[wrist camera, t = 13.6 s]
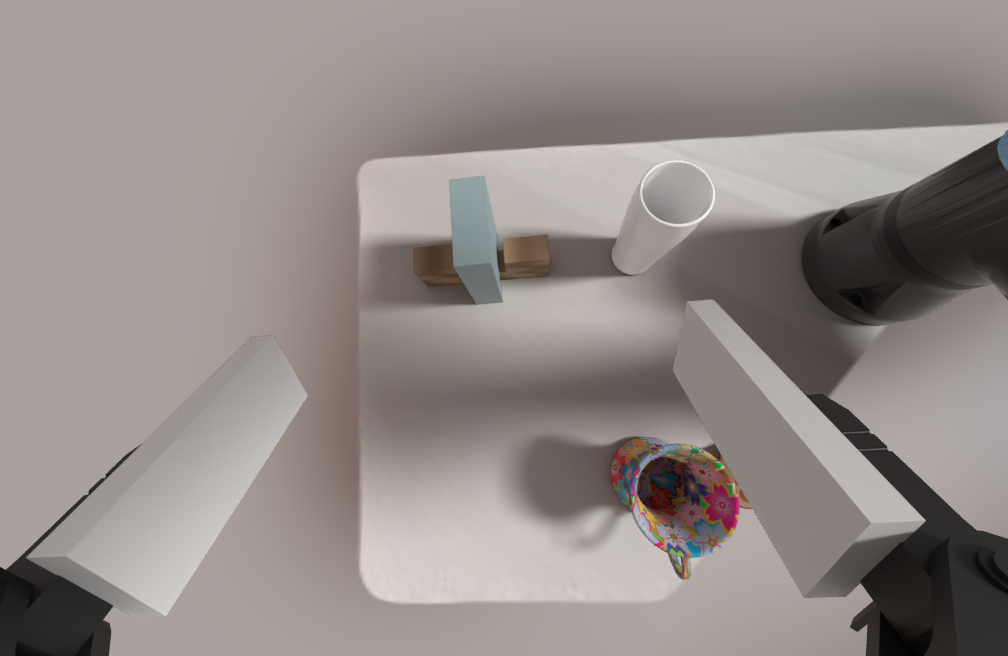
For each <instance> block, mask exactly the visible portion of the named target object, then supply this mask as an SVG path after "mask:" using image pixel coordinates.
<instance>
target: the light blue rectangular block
mask: <svg viewBox="0 0 1008 656" xmlns="http://www.w3.org/2000/svg"><path fill="white" fill-rule="evenodd" d="M449 189H450V208H451V227H452V246H453V264H454V268H455V270H456V271H457V273H458V275H459V276H460V278H461V280H462V281H463V283H464V285H465V286H466V288H467V290H468V291H469V293H470V295H471V296H472V298H473V300H474V301H475V303H476V305H478V304H488V303H499V302H503V296H502V286H501V283H500V276H499V263H498V251H499V246H498V236H497V232H496V227H495V223H494V218H493V213H492V209H491V204H490V199H489V195H488V190H487V185H486V181H485V176H477V177H469V178H460V179H452V180H449Z"/></svg>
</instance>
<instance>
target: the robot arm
mask: <svg viewBox="0 0 1008 656" xmlns="http://www.w3.org/2000/svg"><path fill="white" fill-rule="evenodd" d="M802 259H803V268H804V272H805V276H806V278H807V281H808V283H809V285H810V286H811V288H812V290H813V291H814V293H815V294H816V295H817V296H818V298H819V299H820V300H821V301H822V302H823V303H824V304H825V305H827V306H828V307H829V308H830V309H832V310H833V311H835V312H836V313H838V314H840V315H841V316H843V317H845V318H848V319H850V320H853V321H856V322H859V323H864V324H870V325H889V324H895V323H900V322H905V321H909V320H914V319H917V318H920V317H923V316H925V315H927V314H930V313H931V312H933V311H935V310H937V309H938V308H940V307H942V306H944V305H945V304H947V303H949V302H950V301H952V300H954V299H956V298H957V297H959V296H961V295H963V294H964V293H966V292H968V291H969V290H971V289H974V288H978V287H982V286H986V285H990V284H994V285H995V286H996V287H997V288H998V290H999V291H1000V292H1001V293H1002V294H1003V295H1004V296H1005V298H1006V299H1007V300H1008V130H1007V131H1006V132H1005V134H1004V135H1003V136H1001V137H999V138H998V139H996V140H994V141H992V142H990V143H988V144H987V145H985V146H983V147H981V148H979V149H977V150H976V151H974V152H972V153H970V154H968V155H966V156H965V157H963V158H961V159H959V160H957V161H955V162H954V163H952V164H950V165H948V166H946V167H944V168H943V169H941V170H939V171H937V172H935V173H933V174H932V175H930V176H928V177H926V178H924V179H922V180H921V181H919V182H917V183H915V184H914V185H912V186H910V187H908V188H906V189H904V190H902V191H898V192H894V193H890V194H886V195H882V196H878V197H874V198H870V199H866V200H862V201H858V202H855V203H852V204H849V205H847V206H844V207H842V208H840V209H839V210H837V211H835V212H834V213H832V214H830V215H829V216H827V217H825V218H824V219H822V220H821V221H820V222H819V223H818V224H816V226H815V227H814V228H813V229H812V230H811V232H810V233H809V235H808V237H807V239H806V241H805V244H804V248H803V257H802ZM672 371H673V372H674V374H675V376H676V378H677V379H678V381H679V383H680V384H681V386H682V388H683V390H684V391H685V393H686V395H687V397H688V398H689V400H690V402H691V403H692V405H693V407H694V409H695V410H696V412H697V414H698V416H699V417H700V419H701V421H702V423H703V424H704V426H705V428H706V429H707V431H708V433H709V435H710V436H711V438H712V440H713V442H714V443H715V445H716V447H717V448H718V450H719V452H720V454H721V455H722V457H723V459H724V461H725V462H726V464H727V466H728V468H729V469H730V471H731V473H732V474H733V476H734V478H735V480H736V481H737V483H738V485H739V487H740V488H741V490H742V492H743V493H744V495H745V497H746V499H747V500H748V502H749V504H750V506H751V507H752V509H753V511H754V513H755V514H756V516H757V518H758V519H759V521H760V523H761V524H762V526H763V528H764V530H765V532H766V533H767V535H768V537H769V538H770V540H771V542H772V544H773V545H774V547H775V549H776V550H777V552H778V554H779V555H780V558H781V559H782V561H783V563H784V564H785V566H786V568H787V569H788V571H789V573H790V575H791V577H792V578H793V580H794V582H795V583H796V585H797V587H798V589H799V590H800V592H801V594H802V596H803V597H804V598H815V597H816V598H819V597H846V596H847V595H848V594H849V593H850V592H851V591H853V590H854V589H855V588H856V587H857V586H858V585H859V584H860V583H861V584H862V585H863V587H864V588H865V589H866V591H867V592H868V594H869V595H870V597H871V598H872V599H873V602H872V603H870V604H869V605H868V606H867V607H866V608H865V609H863V610H862V611H861V612H860V613H859V614H857V615H856V616H855V617H854V619H853V621H852V623H851V626H850V627H851V628H852V629H854V630H855V631H857V632H858V631H859V630H861V629H862V628H863V627H864V626H866V625H867V624H868V626H867V645H866V656H1008V539H1007V538H1003V537H1000V536H997V535H994V534H991V533H988V532H984V531H977V530H976V529H974V528H973V527H972V526H971V525H970V524H969V523H967V522H966V521H965V520H964V519H963V518H962V517H961V516H960V515H958V514H957V513H956V512H955V511H954V510H953V509H952V508H951V507H950V506H949V505H948V504H947V503H946V502H945V501H944V500H943V499H942V498H941V497H940V496H939V495H937V494H936V493H935V492H934V491H933V490H932V489H931V488H930V487H929V486H928V485H927V484H926V483H925V482H924V481H923V480H922V479H921V478H920V477H919V476H917V475H916V474H915V473H914V472H913V471H912V470H911V469H910V468H909V467H908V466H907V465H906V464H905V463H904V462H903V461H902V460H901V459H900V458H899V457H898V456H896V455H895V454H894V453H893V452H892V451H888V450H887V446H886V445H885V444H884V443H883V442H882V441H881V440H880V439H879V438H878V437H876V436H875V435H874V434H870V432H869V429H868V428H867V427H866V426H865V425H864V424H863V423H862V422H861V421H860V420H859V419H858V418H857V417H855V416H854V415H853V414H852V413H851V412H850V411H849V410H848V409H846V408H844V407H842V406H841V405H839V404H838V403H836V402H834V401H833V400H831V399H829V398H828V397H826V396H824V395H823V394H814V395H805V394H804V393H803V392H802V391H801V390H800V389H799V388H798V387H797V386H796V385H795V384H794V383H793V382H792V381H791V380H790V379H789V378H788V377H787V376H786V375H785V374H784V373H783V371H782V370H781V369H780V368H779V367H778V366H777V365H776V364H775V363H774V362H773V361H772V360H771V359H770V358H769V357H768V356H767V355H766V354H765V353H764V352H763V351H762V350H761V349H760V348H759V347H758V345H757V344H756V343H755V342H754V341H753V340H752V339H751V338H750V337H749V336H748V335H747V334H746V333H745V332H744V331H743V330H742V329H741V328H740V327H739V326H738V325H737V324H736V323H735V322H734V321H733V319H732V318H731V317H730V316H729V315H728V314H727V313H726V312H725V311H724V310H723V309H722V308H721V307H720V306H719V305H718V304H717V303H716V302H715V301H714V300H713V299H711V300H699V301H687V304H686V309H685V314H684V318H683V323H682V328H681V332H680V337H679V342H678V347H677V351H676V356H675V361H674V366H673V370H672ZM307 397H308V395H307V393H306V391H305V390H304V388H303V386H302V384H301V383H300V381H299V379H298V377H297V375H296V374H295V372H294V370H293V368H292V367H291V365H290V363H289V361H288V359H287V358H286V356H285V354H284V352H283V351H282V349H281V347H280V345H279V343H278V342H277V340H276V338H275V336H274V335H270V336H257V337H251V338H250V339H249V340H248V341H247V342H246V343H245V344H244V345H243V346H242V347H241V348H240V349H239V350H238V351H237V352H236V353H235V354H234V355H233V356H232V357H231V358H229V360H227V361H226V362H225V363H224V365H222V366H221V367H220V368H219V369H218V370H217V371H216V372H215V373H214V374H213V375H212V376H211V377H210V378H209V379H208V380H207V381H206V382H205V383H204V384H203V385H202V386H201V387H200V388H199V389H198V390H197V391H196V392H195V393H194V394H193V395H192V396H191V397H190V398H189V399H188V400H187V401H186V402H184V403H183V405H181V406H180V407H179V408H178V409H177V410H176V411H175V412H174V413H173V414H172V415H171V416H170V417H169V418H168V419H167V420H166V421H165V422H164V423H163V424H162V425H161V426H160V427H159V428H158V429H157V430H156V431H155V432H154V433H153V434H152V435H151V436H150V437H149V438H148V439H147V440H146V441H145V442H144V443H142V444H141V445H139V446H138V447H137V448H135V449H134V450H132V451H131V452H129V453H128V454H127V455H126V456H124V457H123V458H122V459H121V460H120V461H119V462H118V463H117V464H116V465H115V466H114V467H113V468H112V469H111V470H110V471H109V472H108V473H107V474H106V477H105V478H102V479H101V480H100V481H98V482H97V483H96V484H95V485H94V486H93V487H92V488H91V489H90V490H89V494H88V495H84V496H83V497H82V498H81V499H80V500H79V501H78V502H77V503H76V504H75V505H74V506H73V507H71V509H69V510H68V511H67V512H66V513H65V514H64V515H63V516H62V517H61V518H60V519H59V520H58V521H57V522H56V523H55V524H54V525H53V526H52V527H51V528H50V529H49V530H48V531H47V532H46V533H45V534H44V535H42V537H40V538H39V539H38V540H37V541H36V542H35V543H34V544H33V545H32V546H31V547H30V548H29V549H28V550H27V551H26V552H25V553H24V554H23V555H22V556H21V557H20V558H19V559H18V560H17V561H15V562H14V563H13V564H12V565H11V566H10V567H9V568H7V569H6V570H5V569H3V568H1V567H0V656H109V649H110V639H111V628H110V623H108V622H106V621H103V619H104V618H105V616H106V615H107V614H108V612H109V611H110V610H111V608H112V607H115V608H117V609H119V610H120V611H122V612H124V613H126V614H128V615H130V616H131V617H161V616H166V615H167V614H168V612H169V611H170V609H171V607H172V606H173V604H174V603H175V601H176V600H177V598H178V597H179V595H180V594H181V592H182V590H183V589H184V587H185V586H186V584H187V583H188V581H189V580H190V578H191V576H192V575H193V573H194V572H195V570H196V569H197V567H198V566H199V564H200V562H201V561H202V559H203V558H204V556H205V555H206V553H207V552H208V550H209V548H210V547H211V545H212V544H213V542H214V541H215V539H216V538H217V536H218V535H219V533H220V532H221V530H222V528H223V527H224V525H225V524H226V522H227V520H228V519H229V518H230V516H231V514H232V513H233V511H234V510H235V508H236V507H237V505H238V504H239V502H240V501H241V499H242V497H243V496H244V494H245V493H246V491H247V490H248V488H249V487H250V485H251V484H252V482H253V480H254V479H255V477H256V476H257V474H258V473H259V471H260V470H261V468H262V466H263V465H264V463H265V462H266V460H267V459H268V457H269V456H270V454H271V452H272V451H273V449H274V448H275V446H276V444H277V443H278V442H279V440H280V439H281V437H282V435H283V434H284V432H285V431H286V429H287V428H288V426H289V424H290V423H291V421H292V420H293V418H294V417H295V415H296V414H297V412H298V411H299V409H300V408H301V406H302V404H303V403H304V401H305V400H306V398H307Z"/></svg>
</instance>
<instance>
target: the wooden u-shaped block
mask: <svg viewBox="0 0 1008 656" xmlns="http://www.w3.org/2000/svg"><path fill="white" fill-rule="evenodd" d="M503 247H504V250H501V251H498V263H499V276H500V280H505V279H516V278H527V277H538V276H548V270H549V263H550V254H549V244H548V235H540V236H530V237H520V238H510V239H503ZM414 272H415V273H416V274H417V275H418V276H419V277H420V279H421V280H422V281H423V282H424V283H425V284H426V285H427V286H428V287H430V286H441V285H452V284H462V283H463V281H462V280H461V278H460V276H459V275H458V273H457V271H456V270H455V268H454V264H453V246H452V244H450V245H440V246H430V247H420V248H414Z"/></svg>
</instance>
